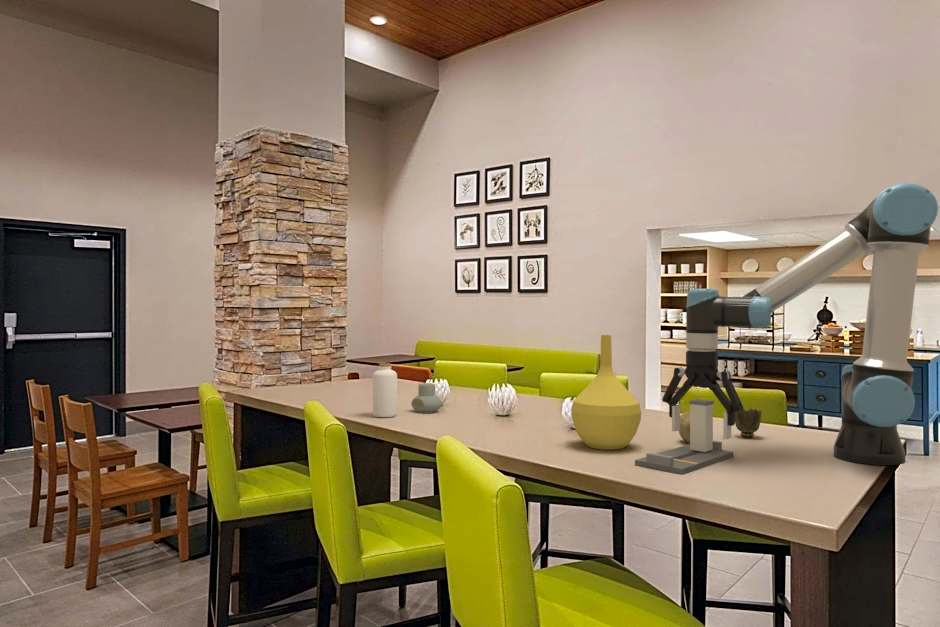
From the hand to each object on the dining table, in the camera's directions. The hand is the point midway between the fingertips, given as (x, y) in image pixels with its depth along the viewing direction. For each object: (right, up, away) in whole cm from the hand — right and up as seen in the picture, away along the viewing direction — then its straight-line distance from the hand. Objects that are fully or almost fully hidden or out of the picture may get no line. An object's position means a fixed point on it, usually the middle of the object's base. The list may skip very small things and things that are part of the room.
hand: (700, 434), depth 163 cm
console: (-6, -5, -6) cm, 10 cm away
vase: (-22, -5, +11) cm, 25 cm away
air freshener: (-73, -5, +69) cm, 101 cm away
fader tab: (0, -4, 0) cm, 4 cm away
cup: (+22, -5, +24) cm, 33 cm away
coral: (+4, -5, +16) cm, 18 cm away
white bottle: (-87, -5, +59) cm, 105 cm away
